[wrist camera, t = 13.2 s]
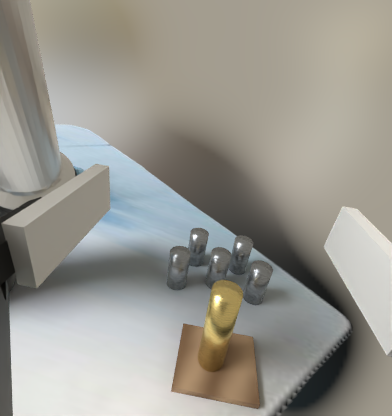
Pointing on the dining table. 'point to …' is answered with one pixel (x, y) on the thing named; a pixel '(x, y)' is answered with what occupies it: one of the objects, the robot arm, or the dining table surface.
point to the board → (222, 379)
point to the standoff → (219, 324)
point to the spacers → (219, 265)
